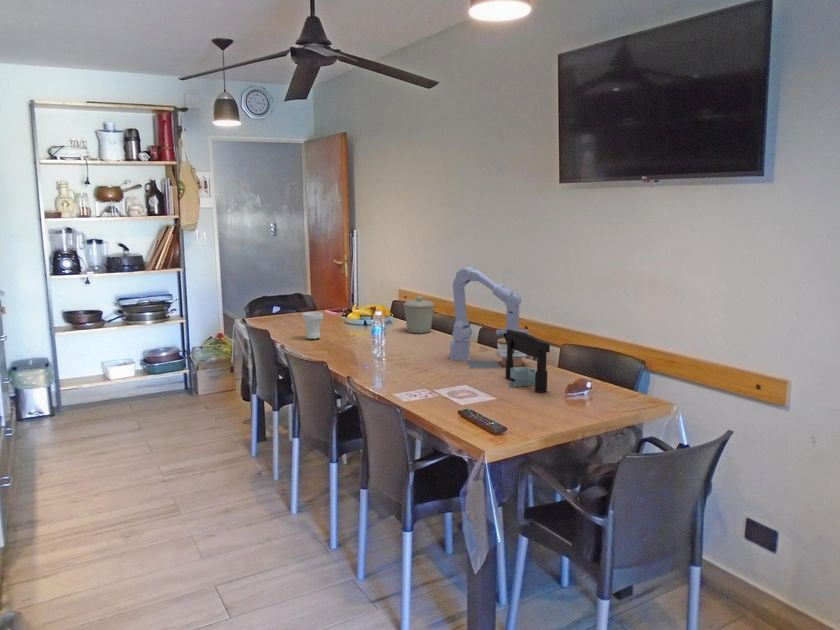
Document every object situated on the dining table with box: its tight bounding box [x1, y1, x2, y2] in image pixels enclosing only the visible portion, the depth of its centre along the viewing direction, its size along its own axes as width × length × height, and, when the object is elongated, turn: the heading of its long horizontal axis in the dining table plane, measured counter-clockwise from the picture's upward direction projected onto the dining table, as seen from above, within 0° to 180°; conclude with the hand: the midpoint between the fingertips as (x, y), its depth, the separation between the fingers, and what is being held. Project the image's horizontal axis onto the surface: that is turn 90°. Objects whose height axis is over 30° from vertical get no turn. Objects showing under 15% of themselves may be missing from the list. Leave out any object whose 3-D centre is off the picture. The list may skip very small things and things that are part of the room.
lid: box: [496, 349, 528, 358], centre depth 302 cm, size 12×12×5 cm
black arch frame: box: [505, 329, 551, 393], centre depth 269 cm, size 16×21×33 cm
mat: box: [466, 360, 501, 370], centre depth 302 cm, size 14×14×1 cm
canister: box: [403, 295, 436, 334], centre depth 379 cm, size 18×18×21 cm
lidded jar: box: [496, 337, 507, 350], centre depth 321 cm, size 11×11×9 cm
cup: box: [301, 311, 324, 340], centre depth 359 cm, size 11×11×14 cm
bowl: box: [500, 357, 523, 368], centre depth 303 cm, size 9×9×4 cm
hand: (511, 349), depth 302 cm, fingers closed on lid, 2 cm apart
